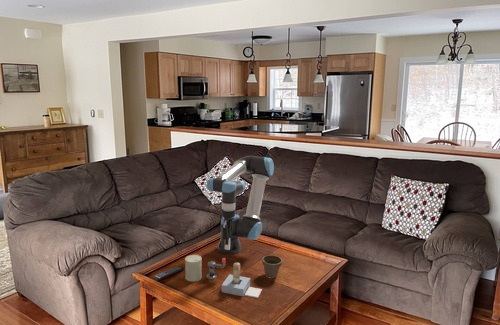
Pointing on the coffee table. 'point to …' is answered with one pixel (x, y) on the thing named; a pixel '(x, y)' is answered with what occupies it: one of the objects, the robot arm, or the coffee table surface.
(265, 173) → the robot arm
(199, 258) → the can
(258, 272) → the coffee table surface
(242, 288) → the block
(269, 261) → the flower pot
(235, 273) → the dowel
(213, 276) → the crank post
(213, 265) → the chrome ball lever
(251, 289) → the mat
